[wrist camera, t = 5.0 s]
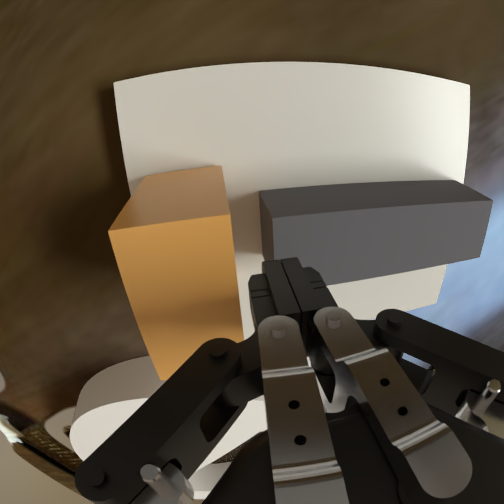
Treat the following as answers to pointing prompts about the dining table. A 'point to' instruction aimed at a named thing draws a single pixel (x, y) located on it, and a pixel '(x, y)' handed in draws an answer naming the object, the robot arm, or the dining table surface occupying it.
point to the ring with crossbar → (131, 398)
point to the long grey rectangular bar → (373, 226)
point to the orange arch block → (179, 264)
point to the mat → (299, 146)
